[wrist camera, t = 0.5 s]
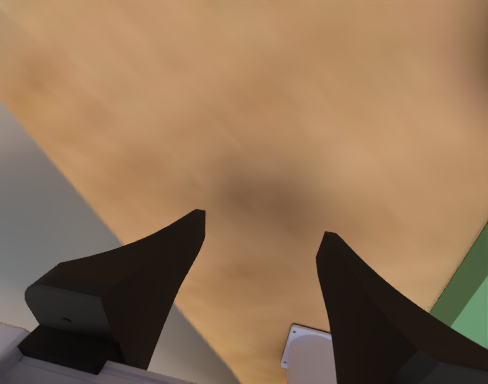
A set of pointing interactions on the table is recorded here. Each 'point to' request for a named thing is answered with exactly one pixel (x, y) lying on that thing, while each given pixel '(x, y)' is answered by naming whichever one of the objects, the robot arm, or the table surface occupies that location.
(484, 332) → the green board
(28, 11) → the table surface
